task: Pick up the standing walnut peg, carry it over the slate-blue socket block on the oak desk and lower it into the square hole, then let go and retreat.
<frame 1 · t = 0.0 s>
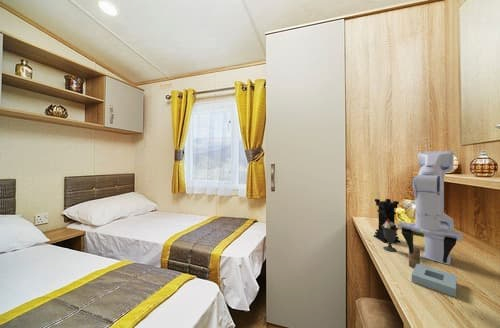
hand: (427, 256, 60), 10 cm above the table, fingers open, 7 cm apart
sundae: (389, 249, 87), on the table
chess piece: (386, 239, 98), on the table
socket block: (434, 282, 63), on the table
peg: (414, 266, 73), on the table
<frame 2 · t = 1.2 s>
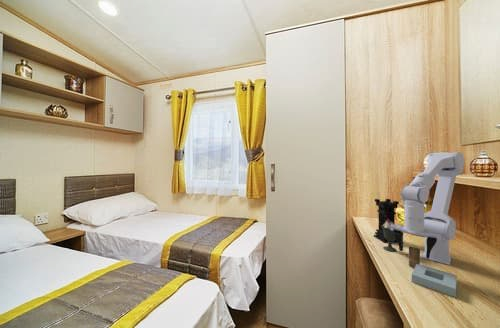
hand: (414, 253, 73), 5 cm above the table, fingers open, 7 cm apart
nothing on the table moved.
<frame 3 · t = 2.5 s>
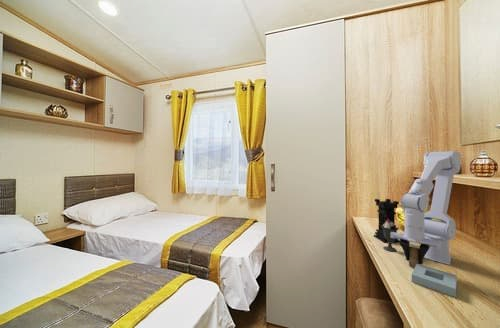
hand: (414, 261, 73), 2 cm above the table, fingers closed on peg, 3 cm apart
peg: (414, 266, 73), on the table, touching gripper
everything else where it was.
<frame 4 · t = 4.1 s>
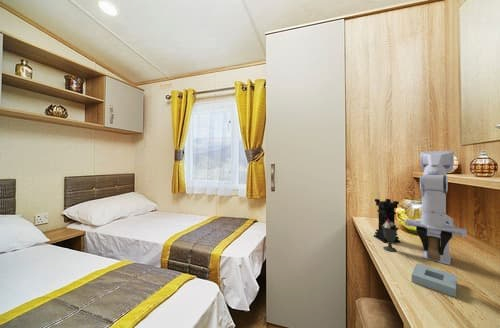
hand: (433, 252, 64), 10 cm above the table, fingers closed on peg, 3 cm apart
peg: (433, 258, 64), point 8 cm above the table, touching gripper
everything else where it was.
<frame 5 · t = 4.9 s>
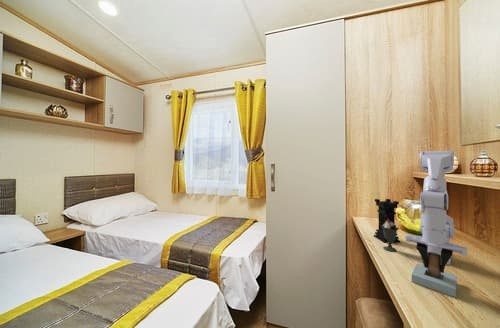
hand: (434, 269, 63), 4 cm above the table, fingers closed on peg, 3 cm apart
peg: (434, 275, 64), point 2 cm above the table, touching gripper
everything else where it was.
when the fingers open (3 cm above the table, at t = 5.4 s): peg drops 1 cm, resting in socket block.
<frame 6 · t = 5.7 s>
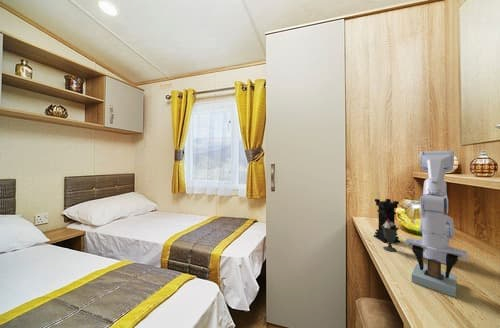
hand: (434, 272, 63), 3 cm above the table, fingers open, 5 cm apart
peg: (434, 282, 64), resting in socket block
everything else where it was.
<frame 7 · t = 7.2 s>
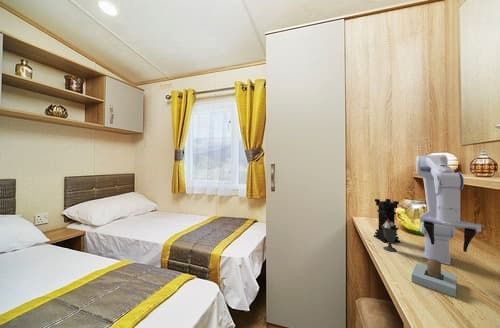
hand: (448, 247, 66), 10 cm above the table, fingers open, 7 cm apart
nothing on the table moved.
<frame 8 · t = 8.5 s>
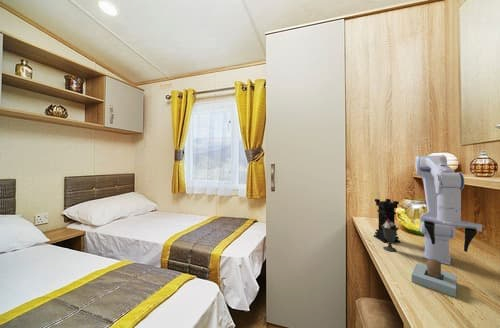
hand: (448, 246, 66), 10 cm above the table, fingers open, 7 cm apart
nothing on the table moved.
at the end: peg 0.1 cm off-centre on the socket block, point 0.0 cm above the socket block's base; peg tilted 0°; the gripper is holding nothing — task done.
